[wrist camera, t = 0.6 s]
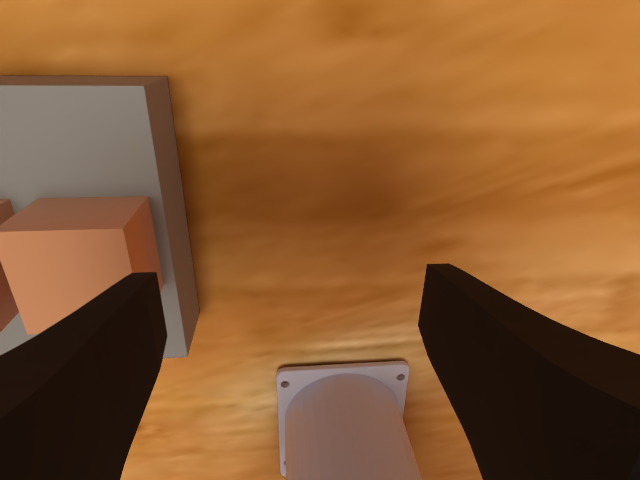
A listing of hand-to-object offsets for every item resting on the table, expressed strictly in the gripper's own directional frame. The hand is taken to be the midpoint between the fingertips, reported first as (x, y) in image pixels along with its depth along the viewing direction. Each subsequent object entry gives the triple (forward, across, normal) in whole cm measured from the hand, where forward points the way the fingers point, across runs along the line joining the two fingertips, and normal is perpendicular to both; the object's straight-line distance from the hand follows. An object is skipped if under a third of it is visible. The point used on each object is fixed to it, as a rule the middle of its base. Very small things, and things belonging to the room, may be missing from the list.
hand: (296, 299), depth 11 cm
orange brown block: (+6, +7, +1) cm, 10 cm away
